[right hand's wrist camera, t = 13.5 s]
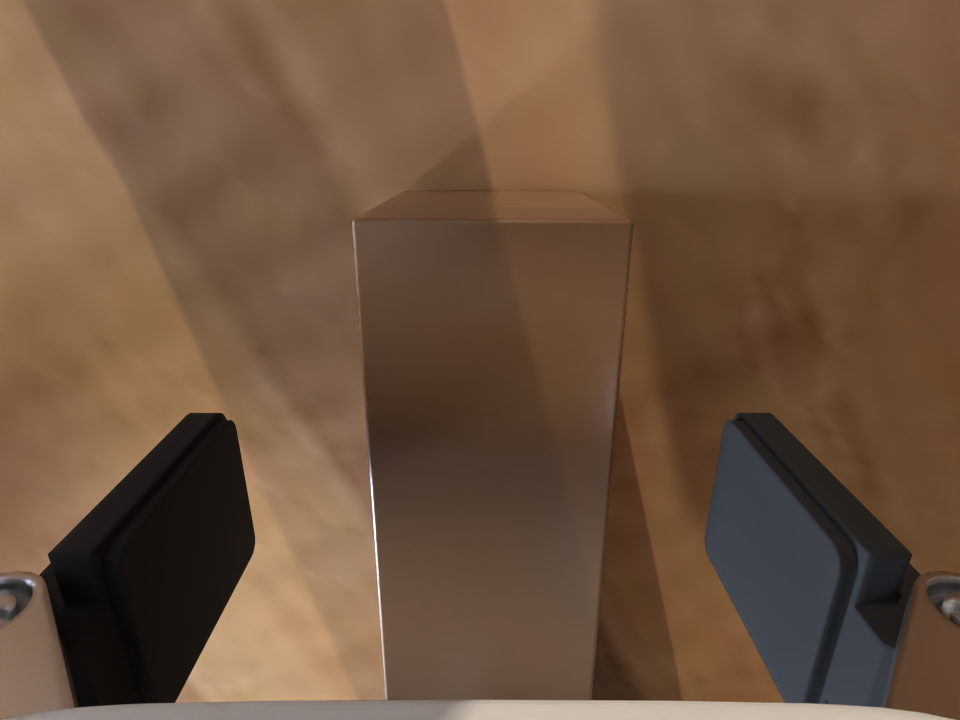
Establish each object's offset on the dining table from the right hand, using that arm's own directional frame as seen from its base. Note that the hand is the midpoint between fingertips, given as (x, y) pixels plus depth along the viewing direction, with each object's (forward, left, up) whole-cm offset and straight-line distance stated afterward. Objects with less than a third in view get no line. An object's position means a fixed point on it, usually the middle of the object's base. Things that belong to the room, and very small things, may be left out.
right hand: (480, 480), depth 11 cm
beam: (-7, -21, -6) cm, 23 cm away
